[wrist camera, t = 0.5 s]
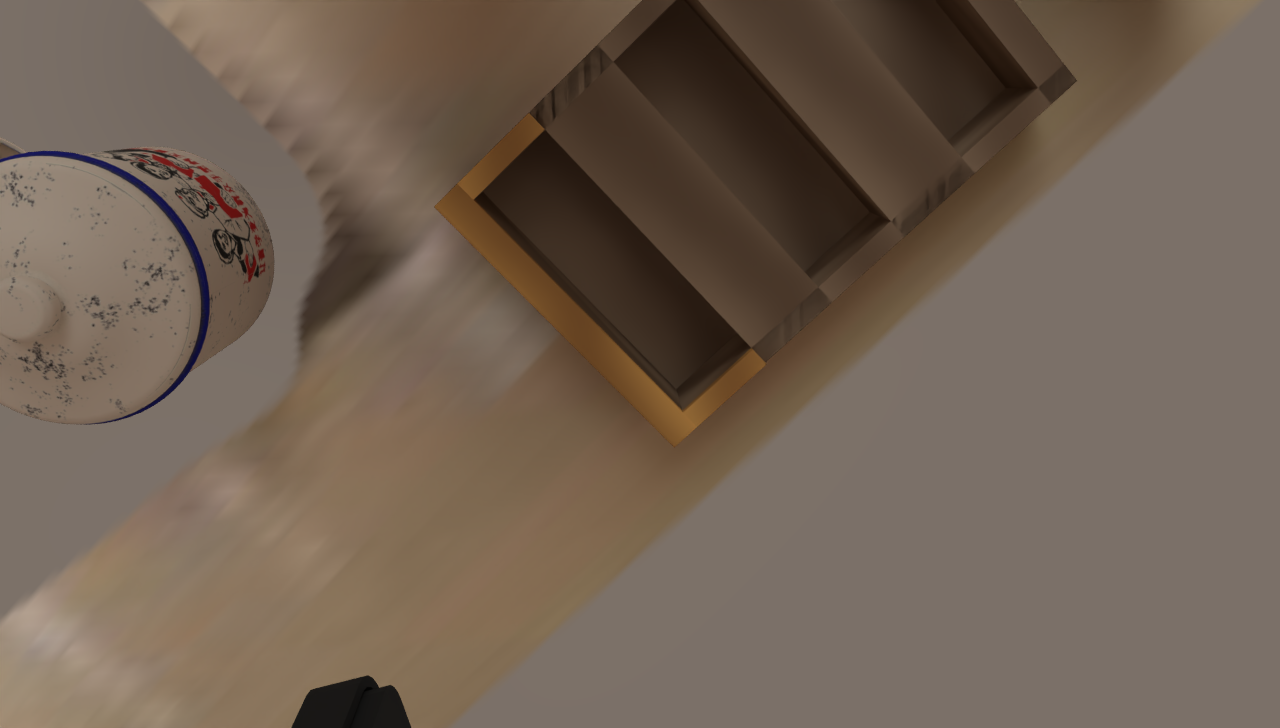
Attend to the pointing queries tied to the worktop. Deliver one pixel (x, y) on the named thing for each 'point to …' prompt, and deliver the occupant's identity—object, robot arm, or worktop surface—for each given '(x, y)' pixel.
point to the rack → (741, 175)
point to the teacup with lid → (120, 277)
